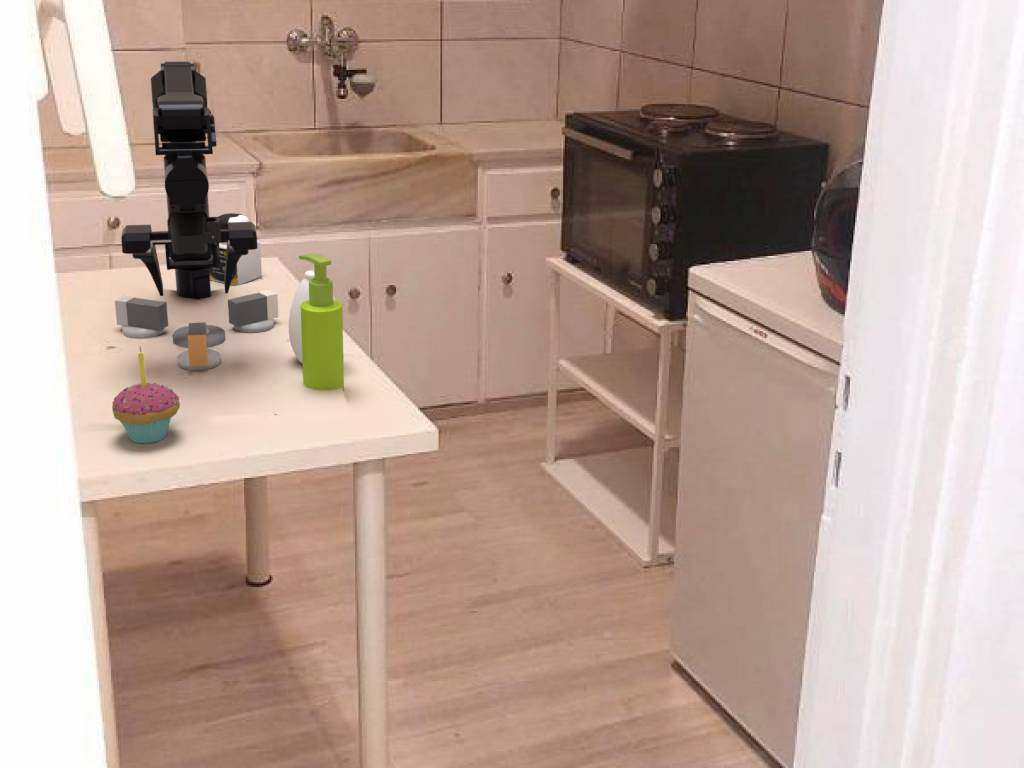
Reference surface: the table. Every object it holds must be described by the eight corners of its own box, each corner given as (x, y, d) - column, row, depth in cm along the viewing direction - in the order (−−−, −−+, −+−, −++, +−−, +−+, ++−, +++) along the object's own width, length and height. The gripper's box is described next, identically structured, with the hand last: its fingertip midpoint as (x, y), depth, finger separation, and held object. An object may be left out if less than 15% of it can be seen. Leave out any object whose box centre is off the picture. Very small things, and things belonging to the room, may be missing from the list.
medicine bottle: (207, 280, 218) (203, 216, 213) (232, 270, 224) (229, 208, 219) (237, 286, 215) (233, 222, 210) (262, 277, 221) (259, 214, 216)
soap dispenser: (324, 376, 177) (320, 248, 169) (352, 390, 173) (349, 259, 165) (291, 386, 173) (286, 255, 165) (319, 400, 169) (315, 266, 161)
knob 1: (177, 354, 180) (175, 323, 178) (220, 352, 181) (218, 321, 179) (176, 373, 173) (174, 340, 171) (221, 370, 175) (219, 338, 173)
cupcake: (112, 427, 158) (104, 343, 154) (177, 419, 161) (171, 337, 157) (118, 454, 151) (109, 367, 146) (186, 445, 154) (179, 360, 149)
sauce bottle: (350, 372, 179) (348, 258, 172) (303, 381, 175) (298, 265, 168) (329, 355, 185) (326, 244, 178) (282, 364, 181) (277, 251, 174)
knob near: (175, 327, 191) (173, 297, 189) (153, 340, 185) (150, 310, 183) (133, 321, 192) (130, 292, 191) (110, 334, 187) (107, 304, 185)
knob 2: (244, 336, 188) (242, 306, 186) (223, 325, 192) (221, 295, 190) (285, 326, 193) (283, 296, 191) (263, 315, 197) (262, 286, 195)
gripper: (114, 205, 158) (125, 315, 164) (256, 201, 162) (261, 308, 168) (119, 186, 168) (129, 290, 174) (253, 183, 172) (258, 285, 178)
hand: (194, 294), depth 173 cm, fingers open, 9 cm apart
